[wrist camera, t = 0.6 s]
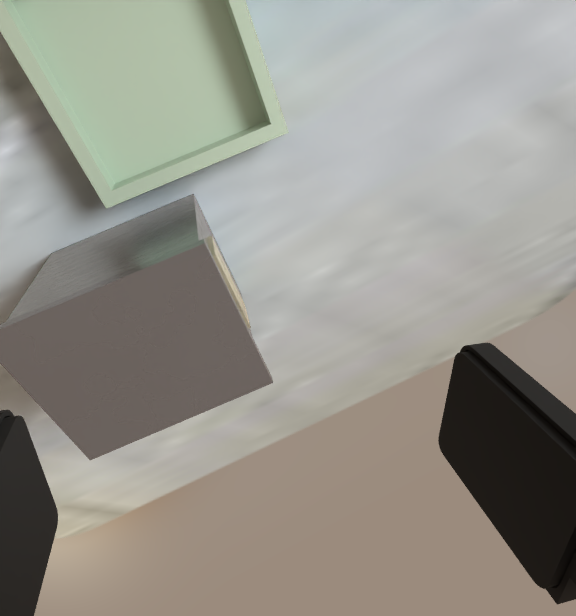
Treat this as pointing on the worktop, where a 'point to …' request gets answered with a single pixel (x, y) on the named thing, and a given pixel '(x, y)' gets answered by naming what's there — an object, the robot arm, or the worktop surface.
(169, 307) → the grey box
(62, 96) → the tray
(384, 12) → the worktop surface
